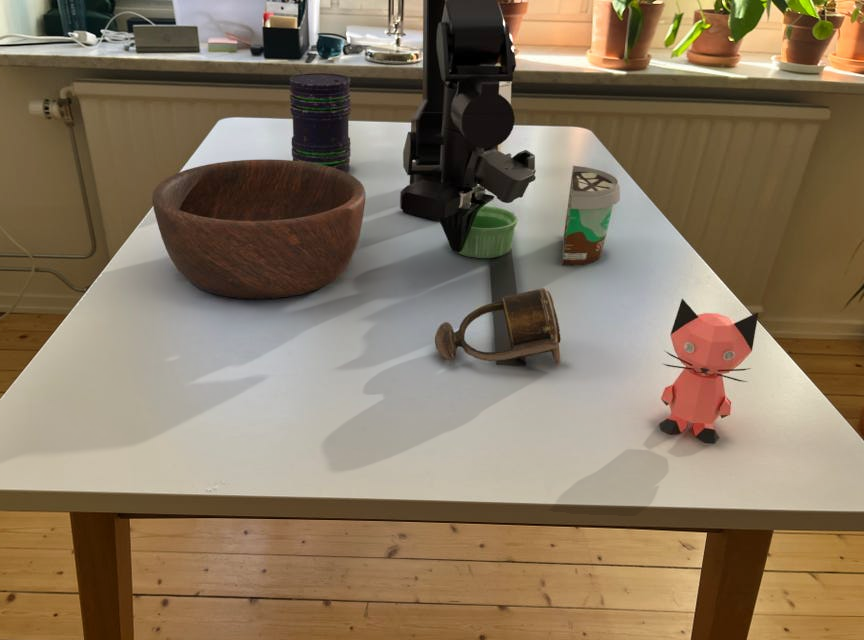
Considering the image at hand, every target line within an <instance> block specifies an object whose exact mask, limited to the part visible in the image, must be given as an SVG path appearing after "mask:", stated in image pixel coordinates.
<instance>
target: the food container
mask: <svg viewBox="0 0 864 640" xmlns="http://www.w3.org/2000/svg"><path fill="white" fill-rule="evenodd" d="M570 178H571V179H570V187H569V195H568V203H567V209H566V216H565V224H564V233H563V239H562V263H561V264H562V265H564V266H566V265H567V266H583V265H587V264H589V265H590V264H593V263H595V262H597V261H599V260H600V259H601V257H602V253H603V249H604V246H605V241H606V236H607V233H608V228H609V224H610V220H611V216H612V212H613V208H614V205H616V204H618V203H619V202H620V201H621V188H620V183H619V180H618V179H617V177H615V176H614V175H613V174H611V173H609V172H607V171H604V170H600V169H596V168H592V167H588V166H581V165H572V172H571V177H570Z"/></svg>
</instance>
